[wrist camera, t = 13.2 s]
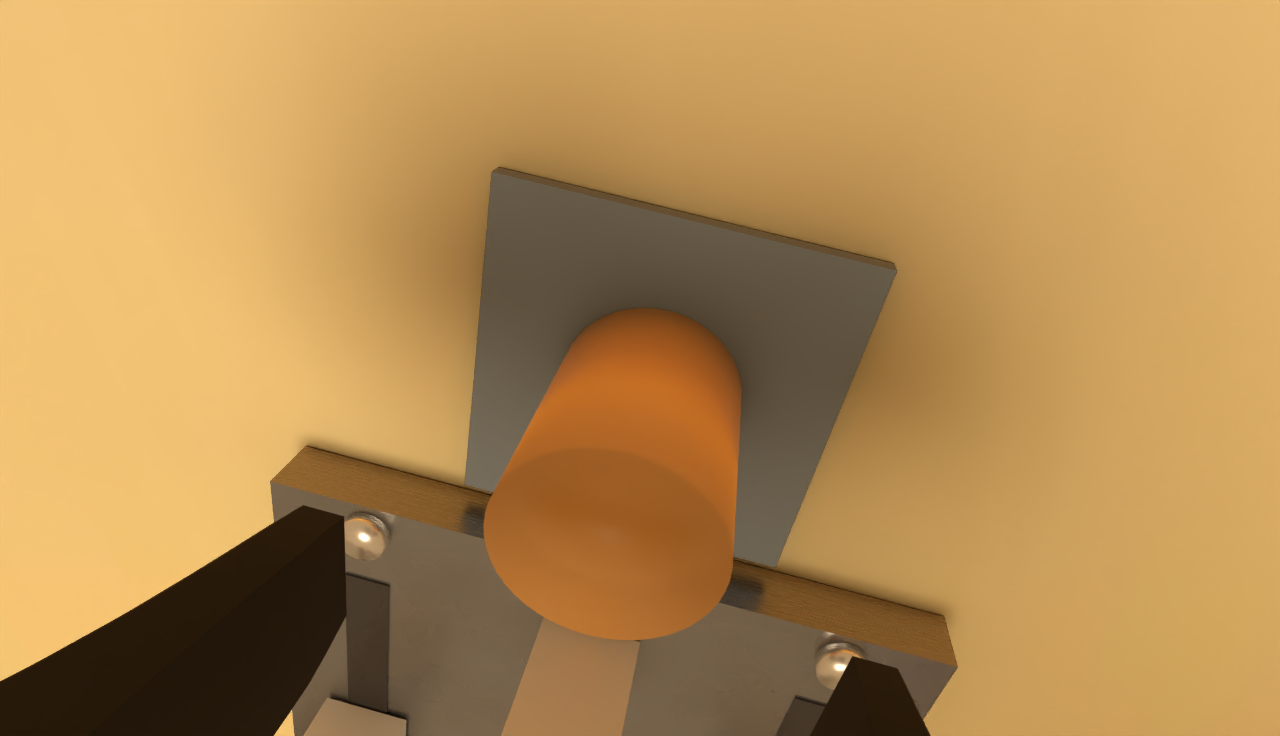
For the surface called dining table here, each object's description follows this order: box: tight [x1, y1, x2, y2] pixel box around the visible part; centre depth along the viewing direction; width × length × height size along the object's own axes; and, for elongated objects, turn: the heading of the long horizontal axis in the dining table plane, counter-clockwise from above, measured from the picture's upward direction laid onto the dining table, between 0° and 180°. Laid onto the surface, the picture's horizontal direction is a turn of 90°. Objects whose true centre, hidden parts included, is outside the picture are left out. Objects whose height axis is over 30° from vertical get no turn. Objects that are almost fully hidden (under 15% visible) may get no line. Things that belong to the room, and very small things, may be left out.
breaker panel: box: [270, 446, 958, 736], centre depth 20 cm, size 17×12×2 cm
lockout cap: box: [483, 308, 742, 640], centre depth 13 cm, size 4×4×5 cm
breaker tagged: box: [501, 617, 640, 736], centre depth 16 cm, size 2×2×4 cm
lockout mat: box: [465, 167, 897, 568], centre depth 16 cm, size 8×8×1 cm
